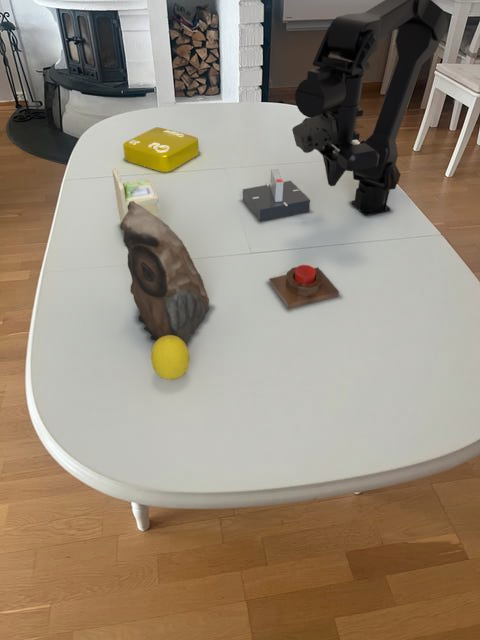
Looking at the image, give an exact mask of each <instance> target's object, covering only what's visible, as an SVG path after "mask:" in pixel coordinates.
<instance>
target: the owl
mask: <svg viewBox="0 0 480 640" xmlns="http://www.w3.org/2000/svg"><path fill="white" fill-rule="evenodd" d="M119 228H120V229H121V231H122V232H123V231H124V232H123V244H124V245H125V247H126V249H127V251H128V253H127V268H128V270H129V273H130V276H131V284H130V289H129V290H130V293H131V295H132V296H133V301H134V303H135V305H136V307H137V309H138V311H139V316H138V317H137V318H138V322H139V323H142V324H143V325H144V328H143V330H144V331H146V332H148V333H149V335H150V337H149V338H150V340H152V341H155V342H156V341H157V340H158V339H159V338H161V337H163V336H166V335H174V336H177V337H179V338H180V339H182V340H183V341H184V343H185V344H186V345H187V342H189V340H190V339H189V338H190V337H191V336H192V335H194V334H195V331H196V329H197V328H198V327H199V325H200V324H201V323H203V322H204V320H205V319H206V317H207V314H208V313H209V311H210V309H211V306H210V298H209V297H208V293H207V290H206V287H205V283H204V280H203V279H202V276H201V274H200V273H199V271H198V269H197V268H196V266H195V264H194V262H193V259H192V257H191V255H190V252H189V251H188V248H187V247H186V246H185V244H184V242H183V240H182V239H181V238H180V237H179V236H178V235H177V234H176V232H174V231H173V229H172V228H171V227H170V226H169V225H168V224H167V223H166V222H164V221H163V220H161V218H159V217H158V218H157V217H156V216H154V215H153V214H151V213H150V212H148V211H147V210H146V209H144V208H143V207H142V206H140V205H138V204H136V203H135V202H134V201H131V202H129V205H128V212H127V214H126V215H125V217H124V218H123V220H122V222H120V225H119Z"/></svg>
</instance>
